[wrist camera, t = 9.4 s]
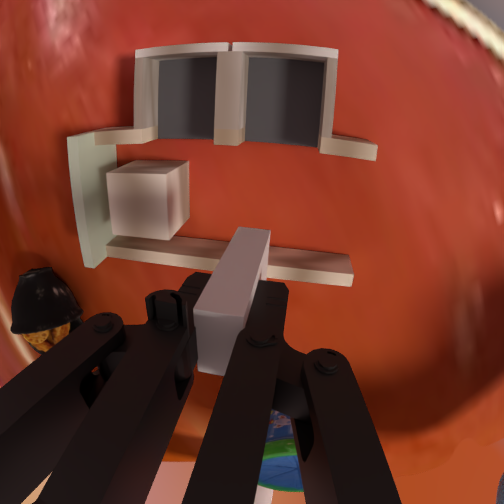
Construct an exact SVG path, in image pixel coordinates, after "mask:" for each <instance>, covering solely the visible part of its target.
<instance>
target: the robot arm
mask: <svg viewBox="0 0 504 504" xmlns="http://www.w3.org/2000/svg"><path fill="white" fill-rule="evenodd" d="M270 231H271V230H264V229H255V228H246V227H238V229H237V231H236V232H235V234H234V236H233V238H232V239H231V241H230V243H229V245H228V247H227V248H226V250H225V252H224V254H223V256H222V257H221V259H220V261H219V263H218V265H217V266H216V268H215V270H214V272H213V274H207V273H200V272H195V273H194V274H192V275H190V276H189V277H187V278H186V280H185V281H184V283H183V284H182V286H181V287H180V289H179V290H178V291H174V290H159V291H155V292H153V293H151V294H149V295H148V296H147V297H146V298H145V302H146V308H147V315H148V321H147V322H146V324H142V325H124V324H123V321H122V318H121V317H120V316H118V315H117V314H114V313H111V312H106V313H100V314H96V315H94V316H92V317H91V318H89V319H88V320H87V321H85V322H84V323H83V324H81V325H80V326H79V327H77V328H76V329H75V330H73V331H72V332H71V333H69V334H68V335H67V336H66V337H64V338H63V339H62V340H60V341H59V342H58V343H57V344H55V345H54V346H53V347H51V348H50V349H49V350H48V351H46V352H45V353H44V354H42V355H41V356H40V357H39V358H37V359H36V360H35V361H34V362H32V363H31V364H30V365H29V366H27V367H26V368H25V369H24V370H22V371H21V372H20V373H19V374H18V375H16V376H15V377H14V378H13V379H11V380H10V381H9V382H8V383H7V384H5V385H4V386H3V387H2V388H0V504H21V503H22V502H23V501H24V500H25V499H26V498H27V497H28V496H29V495H30V494H31V493H32V492H33V491H34V490H35V488H37V487H38V486H39V484H41V482H42V481H43V480H44V479H45V478H46V477H47V476H48V475H49V474H50V473H51V472H52V471H53V472H52V473H51V475H50V477H49V479H48V480H47V482H46V484H45V486H44V488H43V490H42V491H41V493H40V495H39V497H38V498H37V500H36V501H35V502H34V503H32V504H145V501H146V499H147V496H148V494H149V491H150V489H151V486H152V483H153V481H154V479H155V476H156V474H157V471H158V469H159V466H160V464H161V461H162V459H163V456H164V454H165V451H166V449H167V446H168V444H169V441H170V439H171V436H172V434H173V431H174V429H175V426H176V424H177V421H178V419H179V417H180V414H181V412H182V409H183V407H184V404H185V402H186V399H187V397H188V394H189V392H190V389H191V387H192V384H193V380H194V374H193V370H194V367H195V365H196V363H197V365H198V371H200V372H205V373H210V374H215V375H220V376H224V378H223V381H222V384H221V387H220V390H219V393H218V396H217V399H216V403H215V406H214V409H213V412H212V415H211V418H210V421H209V424H208V427H207V430H206V433H205V436H204V439H203V442H202V445H201V448H200V451H199V454H198V457H197V460H196V463H195V466H194V469H193V471H192V474H191V478H190V480H189V483H188V486H187V489H186V492H185V495H184V498H183V501H182V504H254V500H255V495H256V491H257V486H258V481H259V475H260V470H261V465H262V460H263V455H264V449H265V444H266V438H267V433H268V427H269V421H270V415H271V410H272V409H273V410H276V411H278V412H280V413H283V414H285V415H287V416H290V420H291V425H292V431H293V436H294V441H295V447H296V452H297V457H298V463H299V468H300V474H301V479H302V485H303V490H304V495H305V500H306V504H402V503H401V500H400V497H399V494H398V491H397V488H396V485H395V483H394V480H393V477H392V474H391V471H390V468H389V465H388V463H387V460H386V457H385V454H384V451H383V449H382V446H381V443H380V441H379V438H378V435H377V433H376V430H375V427H374V425H373V422H372V419H371V417H370V414H369V411H368V409H367V406H366V404H365V401H364V399H363V396H362V393H361V391H360V388H359V386H358V383H357V381H356V378H355V376H354V373H353V371H352V368H351V366H350V364H349V362H348V360H347V359H346V357H345V356H344V355H342V354H341V353H339V352H337V351H335V350H332V349H324V348H321V349H316V350H313V351H311V352H309V353H308V354H307V355H306V354H304V353H301V352H299V351H297V350H295V349H293V348H292V347H290V346H289V345H288V344H287V343H286V341H285V339H284V336H283V331H284V324H285V317H286V309H287V301H288V294H289V290H288V288H287V287H286V285H285V283H281V282H273V281H266V278H267V266H268V255H269V243H270ZM96 366H97V367H98V370H97V371H95V372H91V371H92V370H93V369H94V368H95V367H96ZM496 504H504V473H503V474H502V477H501V479H500V482H499V486H498V490H497V499H496Z"/></svg>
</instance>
